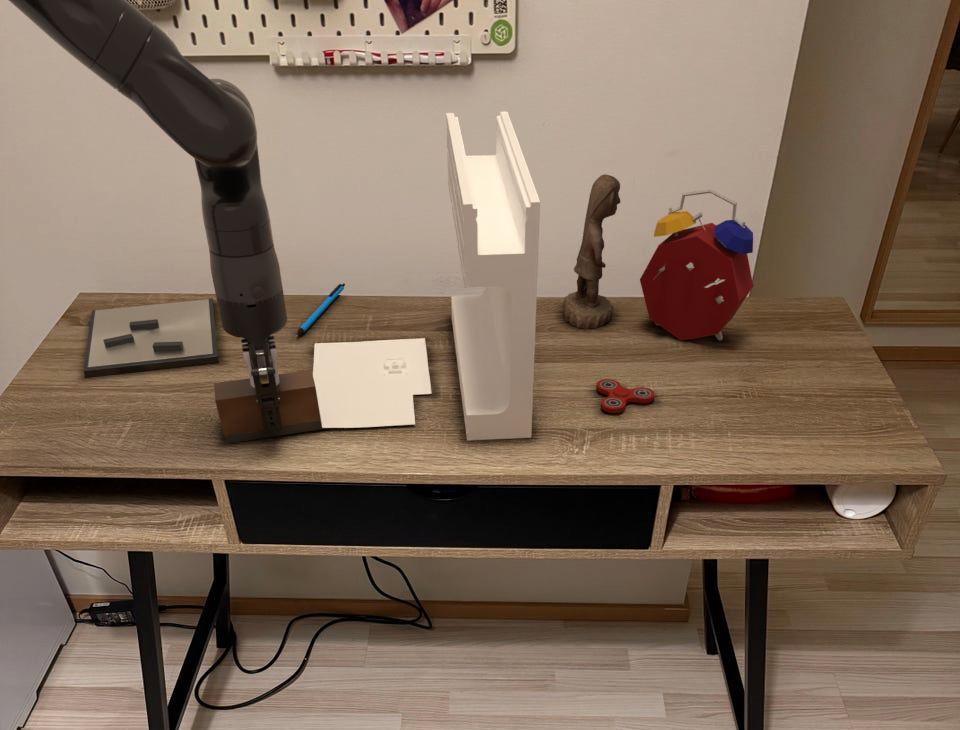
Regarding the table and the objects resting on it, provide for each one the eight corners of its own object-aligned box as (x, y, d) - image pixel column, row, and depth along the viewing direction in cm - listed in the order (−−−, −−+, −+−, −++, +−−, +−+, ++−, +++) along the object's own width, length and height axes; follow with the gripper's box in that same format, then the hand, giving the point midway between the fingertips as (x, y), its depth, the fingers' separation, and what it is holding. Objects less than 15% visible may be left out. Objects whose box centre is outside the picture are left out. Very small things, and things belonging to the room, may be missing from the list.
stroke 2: (130, 330, 136) (129, 325, 136) (130, 327, 137) (129, 321, 136) (158, 327, 137) (157, 322, 136) (158, 324, 138) (157, 318, 137)
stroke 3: (153, 351, 131) (152, 345, 131) (155, 347, 132) (153, 342, 132) (182, 350, 131) (181, 345, 131) (183, 346, 132) (182, 341, 132)
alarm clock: (743, 335, 137) (772, 191, 123) (723, 359, 132) (751, 211, 118) (650, 313, 143) (667, 173, 129) (627, 335, 137) (642, 191, 123)
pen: (346, 287, 150) (346, 280, 149) (300, 339, 136) (299, 331, 136) (341, 286, 150) (341, 279, 149) (294, 338, 136) (293, 331, 136)
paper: (306, 344, 135) (305, 337, 134) (424, 336, 137) (424, 329, 136) (310, 434, 117) (309, 426, 116) (445, 423, 119) (445, 415, 118)
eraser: (226, 444, 116) (215, 400, 111) (224, 426, 119) (213, 383, 115) (322, 429, 117) (315, 385, 113) (318, 412, 120) (311, 369, 116)
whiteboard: (85, 377, 128) (82, 369, 127) (93, 316, 142) (91, 309, 142) (218, 362, 131) (217, 354, 130) (213, 304, 145) (212, 297, 145)
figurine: (622, 323, 140) (637, 181, 127) (578, 332, 138) (588, 189, 124) (593, 300, 146) (605, 162, 133) (550, 308, 144) (557, 169, 130)
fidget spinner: (610, 417, 120) (611, 408, 119) (576, 393, 124) (577, 384, 124) (658, 401, 123) (660, 392, 122) (624, 378, 128) (625, 369, 127)
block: (531, 437, 116) (540, 202, 97) (466, 440, 116) (463, 204, 97) (504, 316, 142) (507, 111, 123) (451, 318, 141) (446, 113, 122)
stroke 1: (106, 348, 132) (104, 342, 131) (104, 344, 133) (102, 339, 132) (134, 341, 133) (133, 336, 133) (132, 338, 134) (131, 333, 134)
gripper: (212, 265, 110) (238, 396, 122) (217, 315, 100) (245, 454, 112) (276, 259, 111) (296, 390, 123) (287, 308, 101) (307, 446, 113)
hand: (271, 419), depth 117 cm, fingers closed on eraser, 4 cm apart
